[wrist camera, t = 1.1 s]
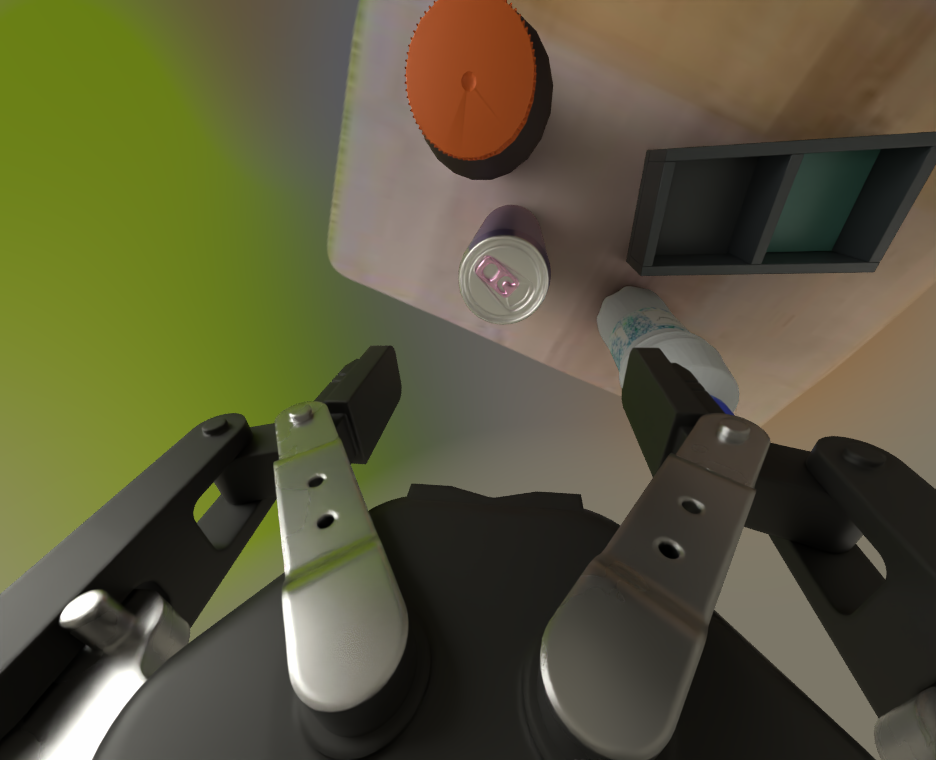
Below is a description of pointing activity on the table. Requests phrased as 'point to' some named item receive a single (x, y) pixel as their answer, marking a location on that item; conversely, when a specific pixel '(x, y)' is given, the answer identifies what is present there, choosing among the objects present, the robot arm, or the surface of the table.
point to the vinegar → (478, 86)
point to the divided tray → (777, 205)
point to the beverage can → (505, 267)
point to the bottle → (663, 341)
